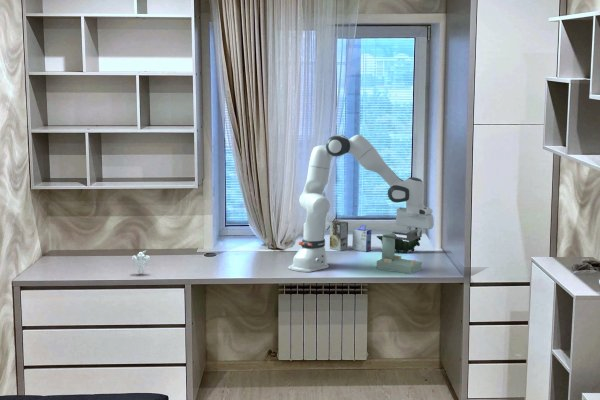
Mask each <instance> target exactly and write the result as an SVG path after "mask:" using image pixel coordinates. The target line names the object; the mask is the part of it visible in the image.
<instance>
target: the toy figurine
mask: <svg viewBox="0 0 600 400" xmlns="http://www.w3.org/2000/svg"><path fill="white" fill-rule="evenodd" d="M414 228H415V227H414ZM416 229H418V228H415V229H414V230H416ZM395 236H396V237H398V236H397V234H395ZM376 238H377V239H378V240H380V241H381V243H382V235H377V236H376ZM421 239H422V237H420V238H418V239H415V240H413V241H407V240H400V239H395V252H396V253H400V252H401V251H402V252H403V253H404V254H407V253H408V252H409V251H411V252H415V248H416V247H419V246H421V244H420V241H421Z"/></svg>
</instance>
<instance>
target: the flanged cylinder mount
mask: <svg viewBox="0 0 600 400" xmlns="http://www.w3.org/2000/svg"><path fill="white" fill-rule="evenodd" d="M383 235H388V236H395V235H396V234H395V233H392V232H391V231H390V232H388V231H387V232H383V233H382V235H381V236H382V242H381V259H379V260H376V269H380V270H385V271H392V272H394V273H395V272H397V273H401V274H408V275H412V274H415V273H417V272H419V271H421V270H422V267H423V266H422V263H423V262H422V261H418V260H417V261H416V260H414V259H412V260H411V259H405V258H402V255H398V254H397V255H396V254H395V252H396V250H395V239H393V238H386V237H383ZM414 272H415V273H414Z"/></svg>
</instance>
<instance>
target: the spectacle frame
mask: <svg viewBox="0 0 600 400" xmlns="http://www.w3.org/2000/svg"><path fill="white" fill-rule="evenodd" d="M417 232H418V230H417V229H416V230H415V229H413V230H411V232H401V231H400V232H399V231H392V232H391V233H395V235H396V236H397V235H399V236H397V237H396V236H388V235H383V234H382V235H383V237H386V238H393V239H400V240H403V241H408V242H409V241H413V240H415V239H418V238H422V237H423V236H422V235H423V234H422V233H423V229H422V230H421V231H420V235H419V236H416V233H417ZM401 236H406V237H401Z"/></svg>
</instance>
